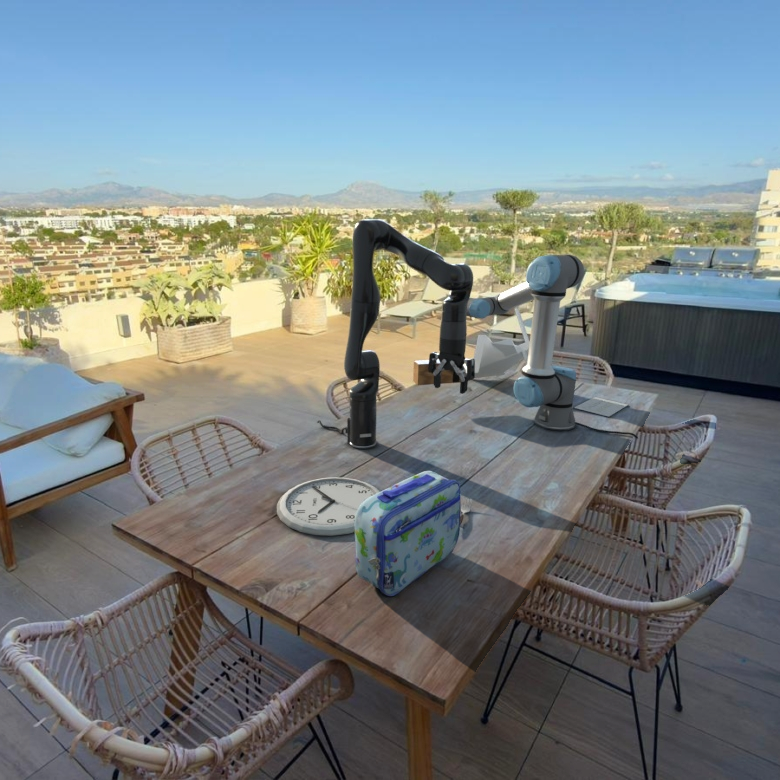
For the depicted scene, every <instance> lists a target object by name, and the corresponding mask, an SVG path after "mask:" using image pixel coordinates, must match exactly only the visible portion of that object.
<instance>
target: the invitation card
mask: <svg viewBox="0 0 780 780" xmlns="http://www.w3.org/2000/svg"><path fill="white" fill-rule="evenodd" d="M628 406H629V404H627V403H623V402H618V401H614V400H609V399H605V398H601V397H596V396H593V397H592V398H590V399H588V400H586V401H584V402H582V403H580V404H578V405H575V406H574V407H573V409H575V410H581V411H584V412H587V413H593V414H596V415H600V416H604V417H608V418H609V417H611V416H613V415H614V414H616V413H617V412H619V411H621V410H623V409H624V408H626V407H628Z"/></svg>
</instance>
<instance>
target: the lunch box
mask: <svg viewBox="0 0 780 780" xmlns="http://www.w3.org/2000/svg"><path fill="white" fill-rule="evenodd" d="M380 491H381V492H379V493H377V494H375V495H373V496H371V497H369V498H367V499H366V500H364V501H363V502H362V504H361V505H360V506H359V508H358V510H357V513H356V516H355V532H354V543H355V545H354V546H355V548H354V551H355V552H354V553H355V570H356V573H357V577H359V578H360V579H361V580H362V581H363V580H364V581H365V582H367V583H369V584H371V585H373V586H374V587H375V588H377V589H379V591H380V592H381V593H382V594H384V595H386V596H387V597H394V596H396V595H398V594H399V593H400V592H402V591H403V590H404V589H405V588H407V587H408V586H409V585H410V584H412V583H413V582H414V581H416V580H417V579H418V578H421V576H423V575H424V574H425V573H427V572H428V571H429V570H430V569H431V568H432V567H434V566H435V565H437V564H438V563H440V562H442V561H443V560H445V559H446V558H448V557H449V556H450V555H451V554H452V552H453V551H454V550H455V548H456V545H457V544H458V540H459V537H460V529H461V525H460V516H461V507H462V504H461V485H460V483H459V482H458V481H457V480H456V479H449V478H446V477H444V476H442V475H440V474H439V473H437V472H434V471H432V470H425V471H422V472H419V473H417V474H415V475H413V476H410V477H408V478H406V479H403V480H401V481H400V482H398V483H395V484H393V485H392V486H389V487H387V488H385V489H384V490H380Z"/></svg>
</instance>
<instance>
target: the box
mask: <svg viewBox="0 0 780 780" xmlns="http://www.w3.org/2000/svg"><path fill="white" fill-rule="evenodd" d="M439 364H440V361H439V359H438V360H437V363H436V368H437V367H438V366H439ZM428 366H429V359H420V360H419V359H418V360H413V376H412V379H413V380H412V382H413V383H414V384H416V385H417V386H429V385H434V375H433V374H432V373H429V372H428ZM460 371H461V370H460ZM440 375H441V385H442V384H444V385H445V384H459V383H460V382H461V379H460V377H459V382H453V372H452V371H450V370H445V369H444V370H443V371H442V372H441V374H440Z"/></svg>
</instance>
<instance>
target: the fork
mask: <svg viewBox="0 0 780 780" xmlns="http://www.w3.org/2000/svg"><path fill="white" fill-rule="evenodd" d="M465 498H466V497H464V498H463V501H462V504H461V508H460V512H462V514H460V526H461V525H462V524H463V520H464V515H465V514H467V513H470V512H471V509H472V504H473V500H471V498H469V499H466V500H465ZM470 500H471V501H470Z"/></svg>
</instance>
